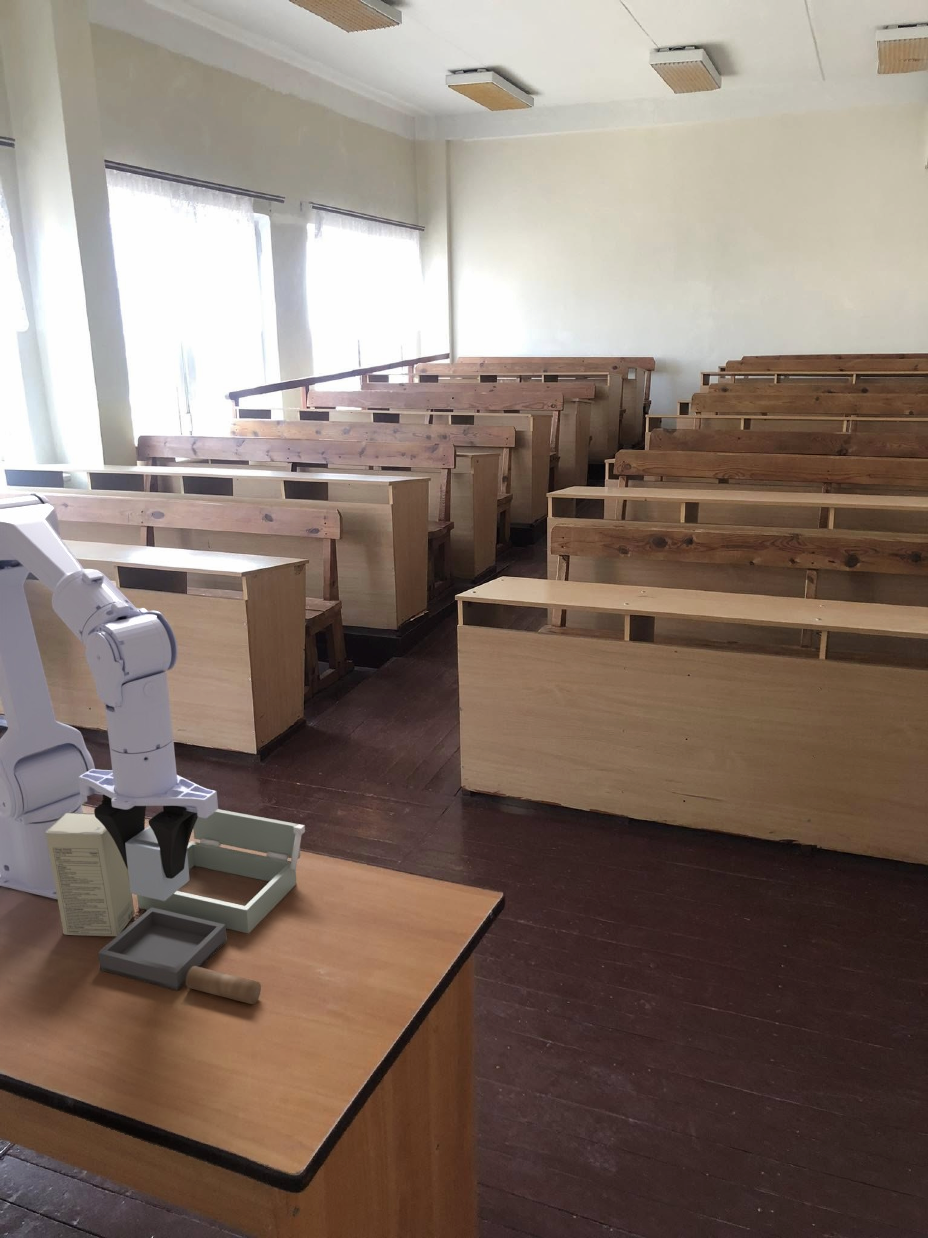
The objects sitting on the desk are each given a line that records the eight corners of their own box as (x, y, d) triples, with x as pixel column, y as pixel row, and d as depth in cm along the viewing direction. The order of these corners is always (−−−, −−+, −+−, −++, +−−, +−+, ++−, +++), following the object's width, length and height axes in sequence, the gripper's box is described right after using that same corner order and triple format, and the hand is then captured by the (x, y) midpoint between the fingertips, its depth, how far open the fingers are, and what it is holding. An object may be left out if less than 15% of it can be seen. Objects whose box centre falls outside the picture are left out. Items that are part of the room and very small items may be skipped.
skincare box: (136, 914, 101) (124, 813, 98) (118, 938, 97) (105, 833, 94) (79, 911, 102) (65, 810, 99) (59, 935, 98) (44, 830, 95)
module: (130, 893, 92) (124, 836, 90) (156, 873, 95) (151, 818, 94) (164, 901, 90) (159, 843, 89) (189, 880, 94) (184, 824, 92)
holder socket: (100, 970, 92) (97, 952, 92) (153, 923, 100) (151, 907, 99) (178, 990, 89) (176, 973, 89) (226, 941, 97) (225, 924, 96)
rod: (186, 992, 89) (184, 974, 89) (199, 979, 91) (197, 961, 90) (250, 1009, 87) (248, 991, 86) (261, 995, 89) (260, 977, 88)
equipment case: (138, 907, 103) (131, 851, 101) (199, 857, 113) (194, 804, 111) (255, 935, 98) (250, 876, 96) (307, 879, 108) (304, 825, 106)
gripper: (48, 747, 87) (66, 876, 91) (180, 770, 82) (193, 905, 86) (101, 719, 93) (116, 841, 97) (226, 739, 88) (236, 866, 92)
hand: (155, 869), depth 92 cm, fingers closed on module, 4 cm apart
